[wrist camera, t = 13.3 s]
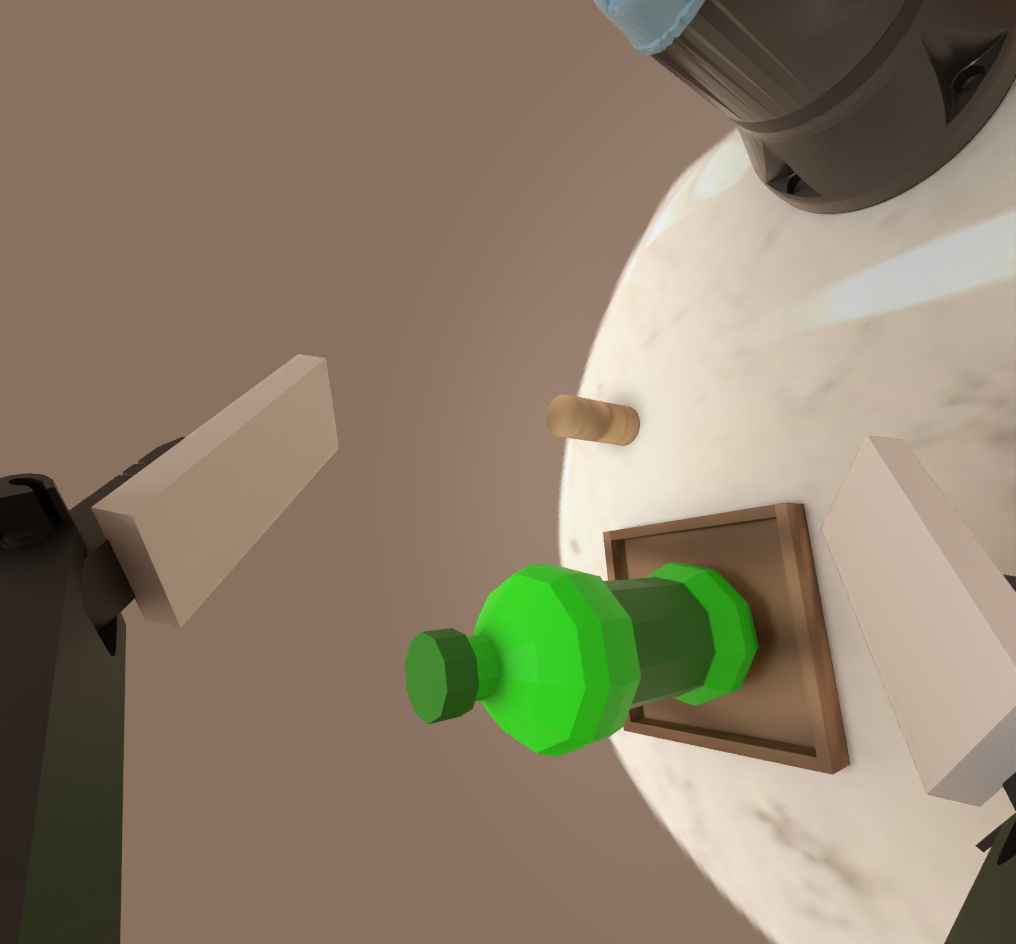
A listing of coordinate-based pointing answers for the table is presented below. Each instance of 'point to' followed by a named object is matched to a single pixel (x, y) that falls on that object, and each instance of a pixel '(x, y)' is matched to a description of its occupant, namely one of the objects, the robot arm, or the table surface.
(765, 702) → the tray
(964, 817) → the table surface
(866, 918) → the table surface
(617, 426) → the peg
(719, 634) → the plastic bottle
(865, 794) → the table surface
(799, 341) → the table surface
